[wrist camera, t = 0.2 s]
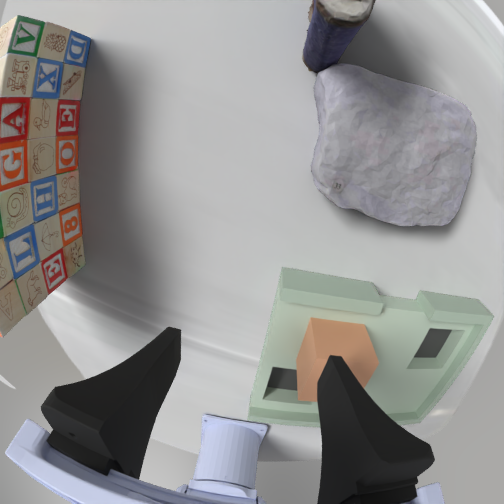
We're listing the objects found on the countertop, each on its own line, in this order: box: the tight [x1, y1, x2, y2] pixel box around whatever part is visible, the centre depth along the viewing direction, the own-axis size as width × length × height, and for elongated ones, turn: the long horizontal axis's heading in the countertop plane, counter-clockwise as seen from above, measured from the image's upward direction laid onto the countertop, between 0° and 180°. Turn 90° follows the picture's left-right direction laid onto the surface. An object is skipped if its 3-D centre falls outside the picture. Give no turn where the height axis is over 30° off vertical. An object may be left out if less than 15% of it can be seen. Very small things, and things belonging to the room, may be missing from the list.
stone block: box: [311, 63, 477, 226], centre depth 16 cm, size 12×5×10 cm
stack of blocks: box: [0, 15, 91, 337], centre depth 13 cm, size 21×6×12 cm, turn 174°
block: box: [296, 317, 379, 402], centre depth 19 cm, size 4×4×4 cm
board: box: [247, 267, 494, 427], centre depth 22 cm, size 16×21×3 cm
